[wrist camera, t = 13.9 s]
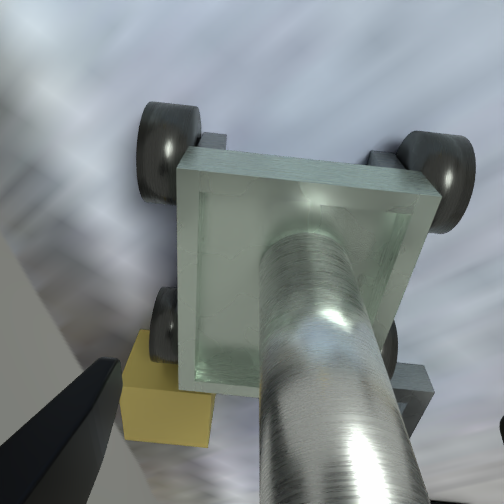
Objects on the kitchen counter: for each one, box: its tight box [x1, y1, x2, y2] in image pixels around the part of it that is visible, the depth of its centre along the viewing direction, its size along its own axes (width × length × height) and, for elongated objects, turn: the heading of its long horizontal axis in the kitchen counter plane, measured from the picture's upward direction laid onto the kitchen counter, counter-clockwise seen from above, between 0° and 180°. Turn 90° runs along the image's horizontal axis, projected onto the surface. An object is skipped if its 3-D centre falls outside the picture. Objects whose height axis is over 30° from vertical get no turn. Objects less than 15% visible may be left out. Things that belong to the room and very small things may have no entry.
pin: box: [259, 233, 431, 504], centre depth 10 cm, size 3×3×8 cm
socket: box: [390, 363, 435, 439], centre depth 21 cm, size 6×6×2 cm
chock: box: [119, 329, 216, 448], centre depth 19 cm, size 4×4×4 cm
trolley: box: [136, 102, 476, 398], centre depth 15 cm, size 11×10×4 cm
